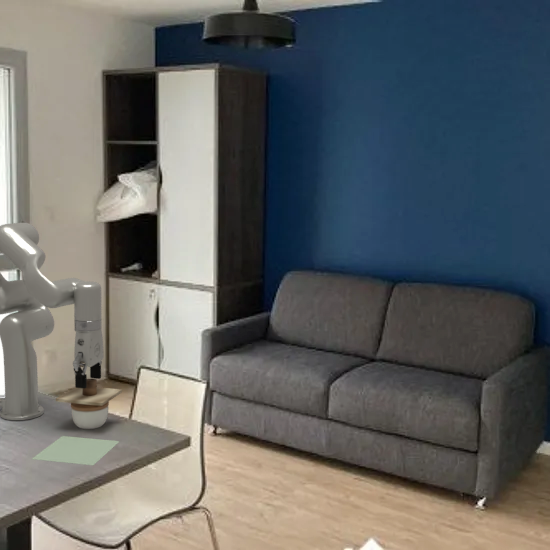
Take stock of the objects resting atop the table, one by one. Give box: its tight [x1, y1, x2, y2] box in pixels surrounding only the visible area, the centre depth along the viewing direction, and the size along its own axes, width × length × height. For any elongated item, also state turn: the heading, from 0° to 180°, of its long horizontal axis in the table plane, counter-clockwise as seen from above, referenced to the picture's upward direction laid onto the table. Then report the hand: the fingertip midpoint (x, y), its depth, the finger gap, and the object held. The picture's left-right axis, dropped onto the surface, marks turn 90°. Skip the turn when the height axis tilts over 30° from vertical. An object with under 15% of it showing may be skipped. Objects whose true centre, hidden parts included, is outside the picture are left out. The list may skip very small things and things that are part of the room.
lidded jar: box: [70, 401, 110, 430], centre depth 219 cm, size 11×11×9 cm
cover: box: [55, 378, 123, 406], centre depth 218 cm, size 14×14×5 cm
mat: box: [31, 435, 120, 466], centre depth 201 cm, size 17×17×1 cm
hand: (88, 382), depth 218 cm, fingers open, 9 cm apart
